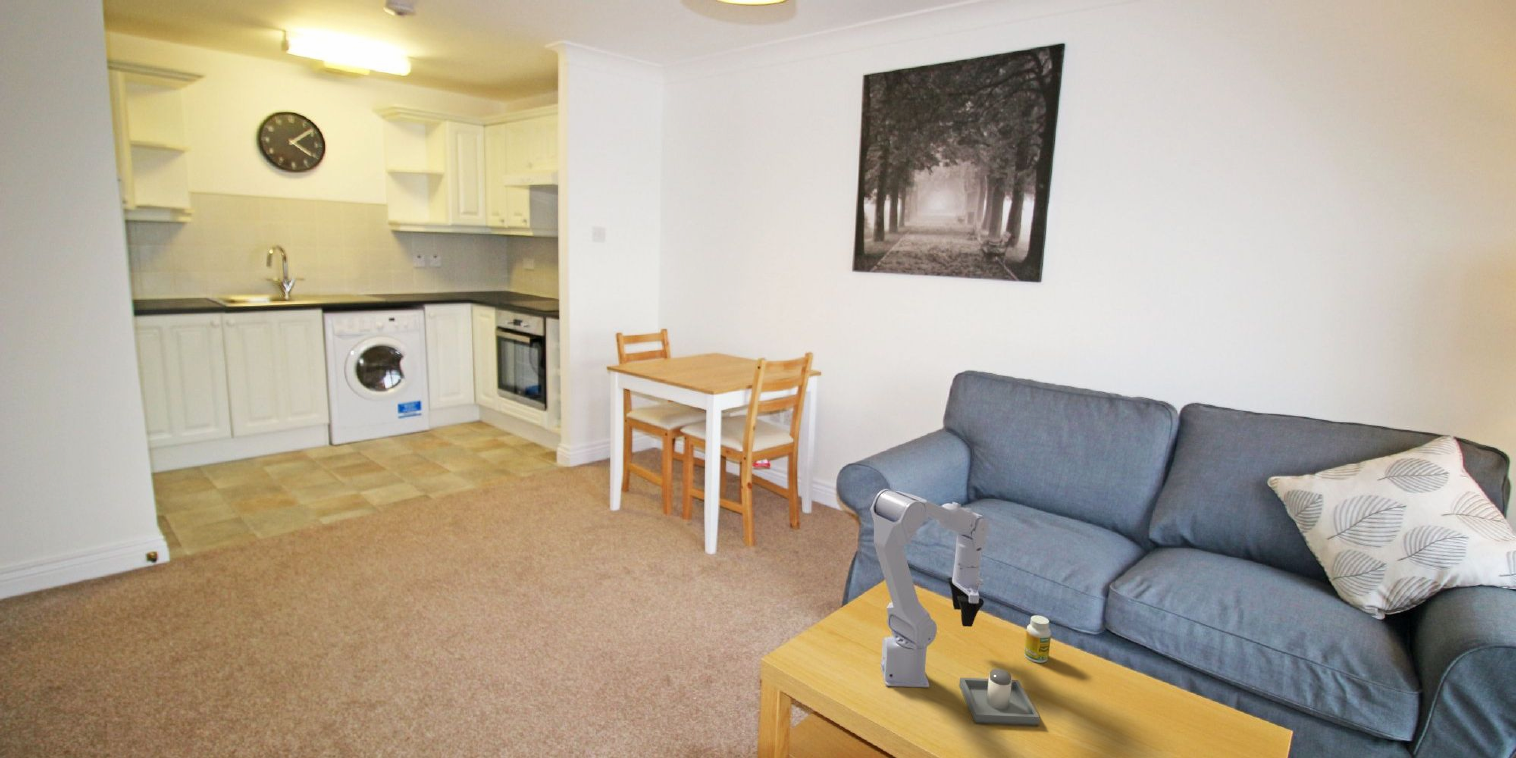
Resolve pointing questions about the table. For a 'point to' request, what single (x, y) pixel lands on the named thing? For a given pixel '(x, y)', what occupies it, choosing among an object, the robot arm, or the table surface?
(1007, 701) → the cylinder
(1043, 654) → the supplement bottle
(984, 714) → the tray
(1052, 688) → the table surface
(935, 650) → the table surface
